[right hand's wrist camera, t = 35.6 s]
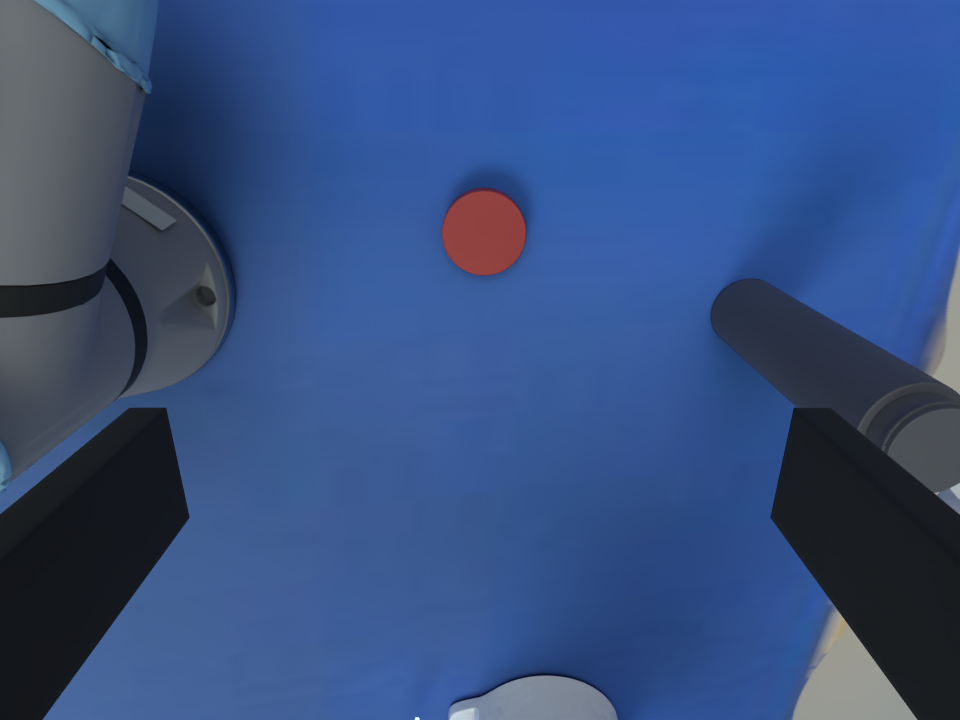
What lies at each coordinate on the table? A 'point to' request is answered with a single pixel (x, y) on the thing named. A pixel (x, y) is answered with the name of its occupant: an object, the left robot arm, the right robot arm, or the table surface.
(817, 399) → the dark grey cylinder
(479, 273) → the lid
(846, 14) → the table surface
